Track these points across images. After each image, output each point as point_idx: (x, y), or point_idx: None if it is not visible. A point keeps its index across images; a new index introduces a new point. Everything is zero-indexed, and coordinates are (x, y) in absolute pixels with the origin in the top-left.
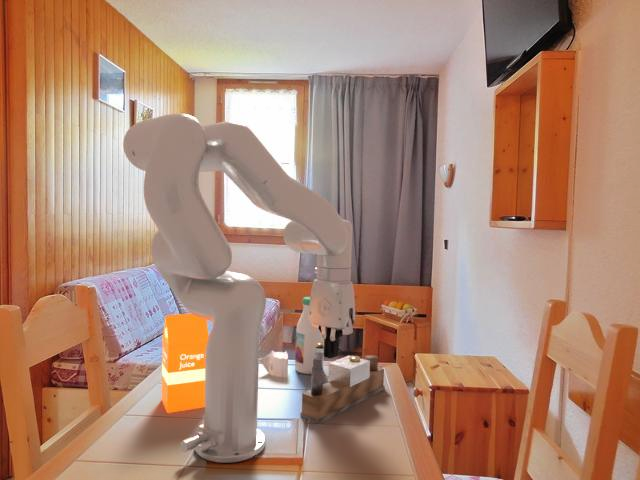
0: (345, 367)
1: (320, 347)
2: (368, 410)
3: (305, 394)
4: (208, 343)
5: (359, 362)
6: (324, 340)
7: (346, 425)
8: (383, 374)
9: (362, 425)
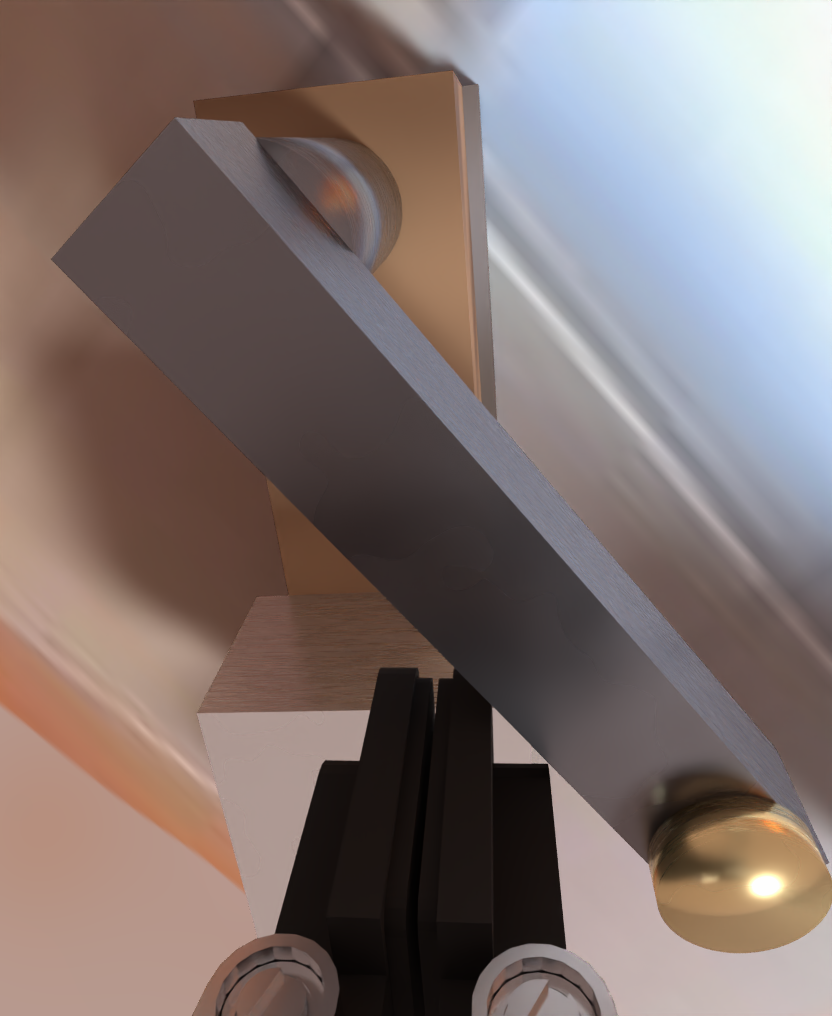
0: (276, 717)
1: (669, 815)
2: (207, 581)
3: (405, 79)
4: None
5: None
6: (561, 936)
7: None
8: None
9: (45, 359)
